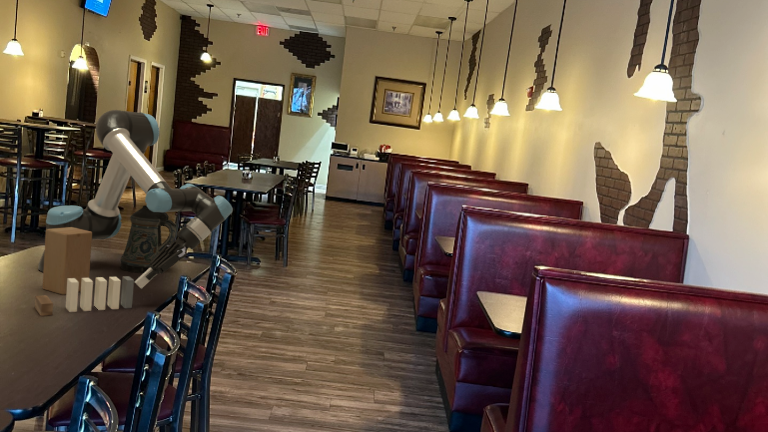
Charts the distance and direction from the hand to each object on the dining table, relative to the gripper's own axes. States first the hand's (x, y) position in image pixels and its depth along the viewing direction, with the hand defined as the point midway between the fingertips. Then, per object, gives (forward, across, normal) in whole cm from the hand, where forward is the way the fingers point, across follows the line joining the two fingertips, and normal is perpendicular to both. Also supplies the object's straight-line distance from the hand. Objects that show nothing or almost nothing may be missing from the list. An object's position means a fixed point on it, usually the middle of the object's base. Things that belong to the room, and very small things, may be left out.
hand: (137, 285), depth 205 cm
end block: (+24, 0, -14) cm, 27 cm away
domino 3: (+13, 0, -3) cm, 13 cm away
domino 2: (+15, 0, -6) cm, 17 cm away
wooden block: (+16, -23, -6) cm, 29 cm away
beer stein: (-9, -50, +18) cm, 54 cm away
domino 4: (+10, 0, 0) cm, 10 cm away
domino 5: (+7, 0, +2) cm, 7 cm away
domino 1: (+18, 0, -9) cm, 20 cm away
